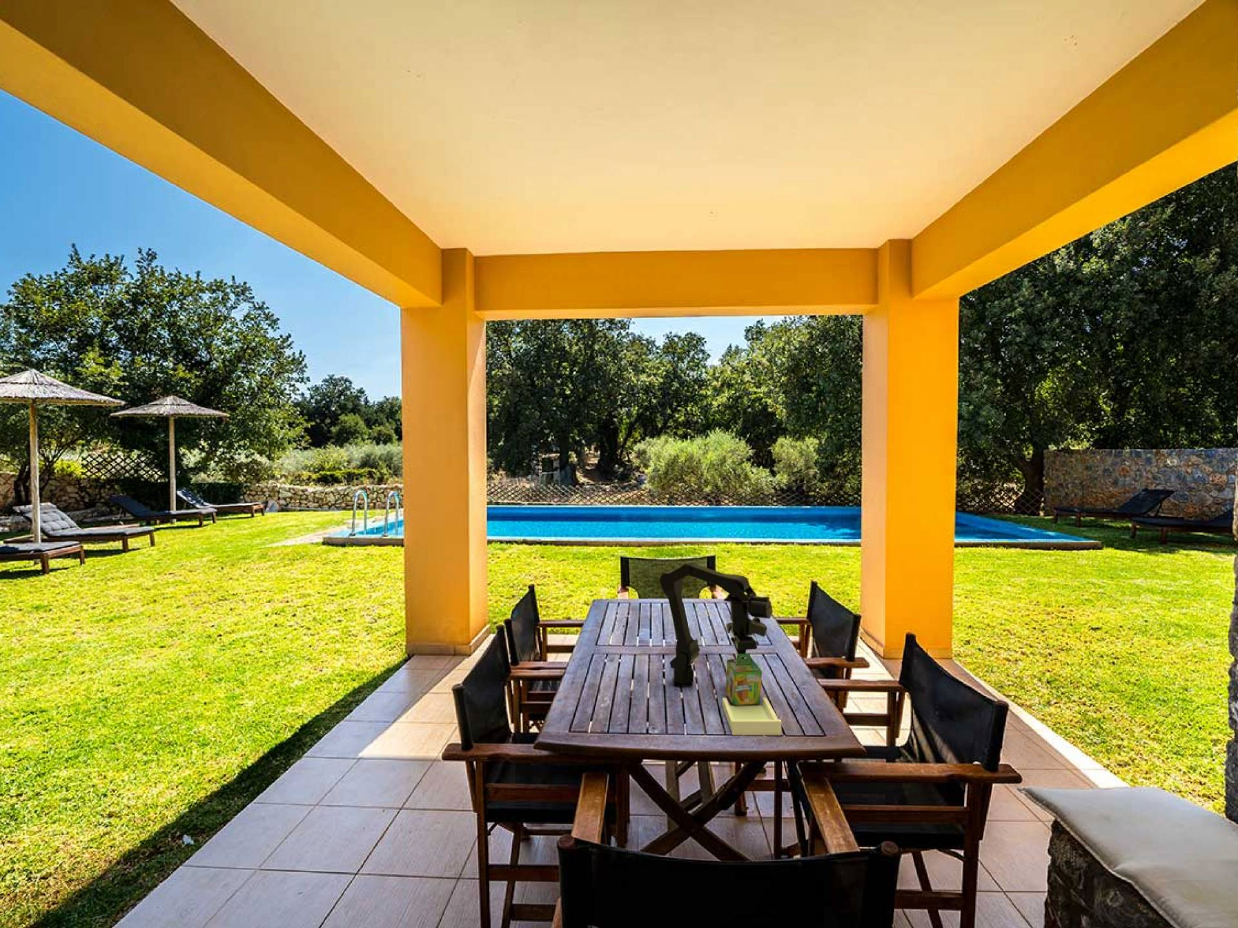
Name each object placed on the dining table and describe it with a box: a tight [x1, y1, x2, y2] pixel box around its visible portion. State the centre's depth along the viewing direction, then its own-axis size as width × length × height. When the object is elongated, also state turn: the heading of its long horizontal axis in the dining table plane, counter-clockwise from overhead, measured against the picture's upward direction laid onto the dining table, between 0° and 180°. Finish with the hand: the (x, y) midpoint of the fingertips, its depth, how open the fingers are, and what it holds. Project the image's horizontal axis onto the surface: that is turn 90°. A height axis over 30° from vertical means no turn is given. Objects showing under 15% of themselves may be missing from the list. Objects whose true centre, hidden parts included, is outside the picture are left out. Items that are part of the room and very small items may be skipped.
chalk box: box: [725, 652, 763, 706], centre depth 191 cm, size 9×9×15 cm
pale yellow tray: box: [722, 697, 782, 736], centre depth 179 cm, size 14×18×4 cm
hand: (742, 660), depth 196 cm, fingers closed
